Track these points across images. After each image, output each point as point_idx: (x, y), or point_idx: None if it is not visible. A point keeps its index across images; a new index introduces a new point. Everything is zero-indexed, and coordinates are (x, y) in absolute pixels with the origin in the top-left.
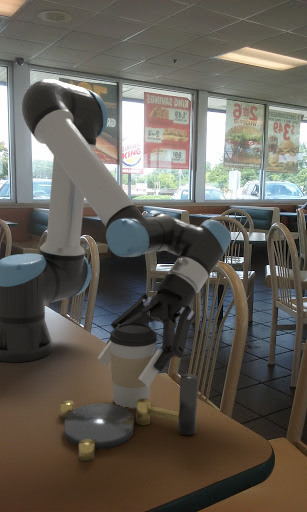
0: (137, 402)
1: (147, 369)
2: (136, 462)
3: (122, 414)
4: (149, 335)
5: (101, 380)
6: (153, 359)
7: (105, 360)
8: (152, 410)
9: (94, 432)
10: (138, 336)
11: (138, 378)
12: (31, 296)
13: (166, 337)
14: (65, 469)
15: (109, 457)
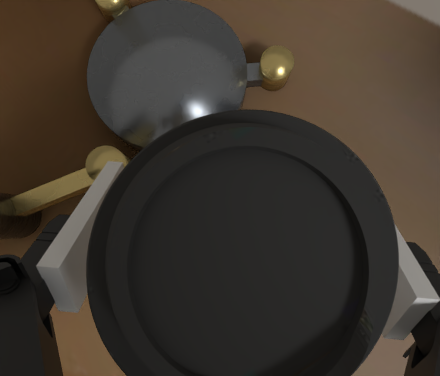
0: (113, 147)
1: (91, 187)
2: (35, 62)
3: (145, 124)
4: (106, 280)
5: None
6: (72, 220)
7: None
8: (80, 170)
9: (131, 28)
10: (129, 188)
11: (121, 163)
12: None
13: (4, 356)
14: None
15: (84, 38)
